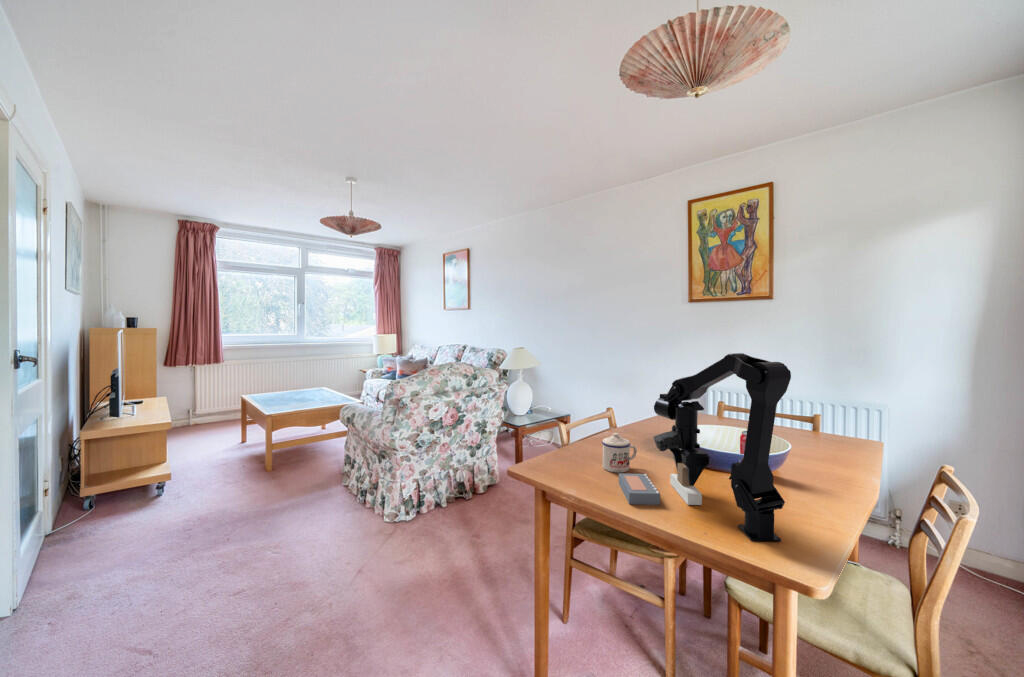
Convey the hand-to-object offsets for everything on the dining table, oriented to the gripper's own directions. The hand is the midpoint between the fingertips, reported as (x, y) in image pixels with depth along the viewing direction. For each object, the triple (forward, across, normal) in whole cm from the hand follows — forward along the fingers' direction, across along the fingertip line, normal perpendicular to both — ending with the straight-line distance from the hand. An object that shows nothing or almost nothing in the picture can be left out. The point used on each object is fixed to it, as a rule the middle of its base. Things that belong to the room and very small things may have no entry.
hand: (685, 478), depth 114 cm
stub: (+4, 0, 0) cm, 4 cm away
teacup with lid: (+5, -20, -14) cm, 25 cm away
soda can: (+5, -17, +27) cm, 32 cm away
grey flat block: (+4, 0, -13) cm, 14 cm away
